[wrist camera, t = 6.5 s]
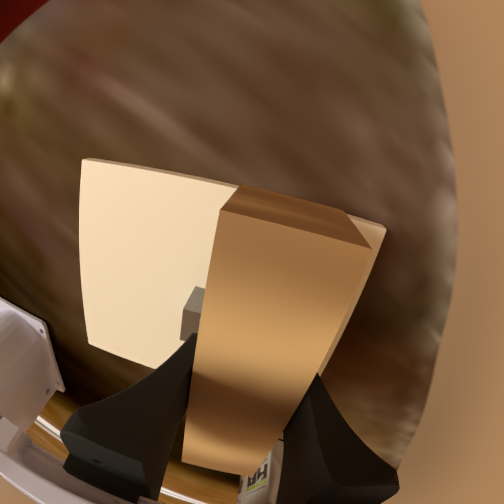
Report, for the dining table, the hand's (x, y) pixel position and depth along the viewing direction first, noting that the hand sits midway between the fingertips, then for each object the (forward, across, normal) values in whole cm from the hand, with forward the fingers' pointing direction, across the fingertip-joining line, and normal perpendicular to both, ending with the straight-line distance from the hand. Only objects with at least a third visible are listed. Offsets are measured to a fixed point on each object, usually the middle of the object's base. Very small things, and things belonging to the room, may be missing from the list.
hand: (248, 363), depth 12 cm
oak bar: (+1, 0, 0) cm, 1 cm away
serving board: (+4, +3, 0) cm, 5 cm away
